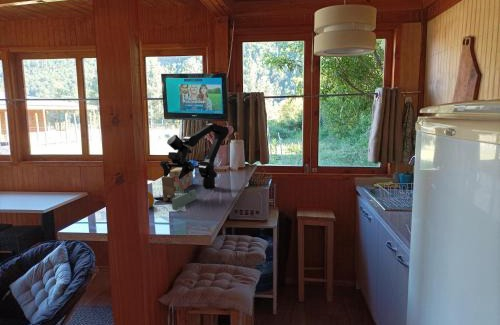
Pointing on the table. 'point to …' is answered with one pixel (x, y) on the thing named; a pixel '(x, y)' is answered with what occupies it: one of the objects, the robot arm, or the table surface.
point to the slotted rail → (183, 199)
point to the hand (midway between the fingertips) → (171, 178)
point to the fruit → (150, 199)
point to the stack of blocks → (184, 181)
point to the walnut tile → (168, 188)
